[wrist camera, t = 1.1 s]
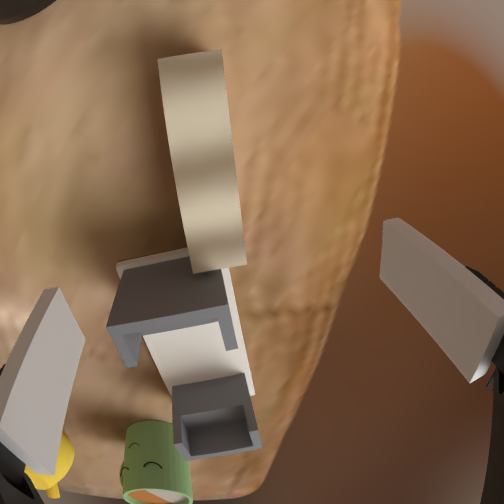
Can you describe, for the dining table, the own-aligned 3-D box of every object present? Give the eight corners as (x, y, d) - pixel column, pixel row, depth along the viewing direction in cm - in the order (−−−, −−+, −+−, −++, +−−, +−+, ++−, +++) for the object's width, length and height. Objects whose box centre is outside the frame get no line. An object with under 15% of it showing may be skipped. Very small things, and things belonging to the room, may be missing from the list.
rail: (164, 68, 24) (157, 59, 19) (215, 60, 25) (221, 49, 19) (192, 243, 32) (193, 273, 26) (237, 236, 32) (247, 264, 27)
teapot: (96, 460, 46) (91, 520, 34) (30, 450, 44) (18, 504, 31) (58, 397, 38) (40, 474, 26) (-17, 386, 35) (-42, 449, 23)
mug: (162, 412, 42) (164, 483, 31) (198, 442, 47) (205, 504, 36) (101, 430, 42) (94, 492, 32) (139, 457, 47) (139, 514, 36)
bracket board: (117, 262, 31) (95, 323, 22) (223, 239, 32) (237, 296, 23) (177, 403, 41) (180, 463, 32) (254, 389, 42) (269, 448, 34)
